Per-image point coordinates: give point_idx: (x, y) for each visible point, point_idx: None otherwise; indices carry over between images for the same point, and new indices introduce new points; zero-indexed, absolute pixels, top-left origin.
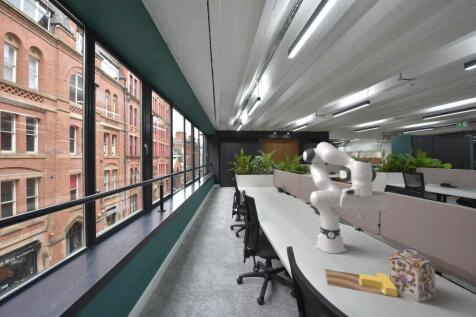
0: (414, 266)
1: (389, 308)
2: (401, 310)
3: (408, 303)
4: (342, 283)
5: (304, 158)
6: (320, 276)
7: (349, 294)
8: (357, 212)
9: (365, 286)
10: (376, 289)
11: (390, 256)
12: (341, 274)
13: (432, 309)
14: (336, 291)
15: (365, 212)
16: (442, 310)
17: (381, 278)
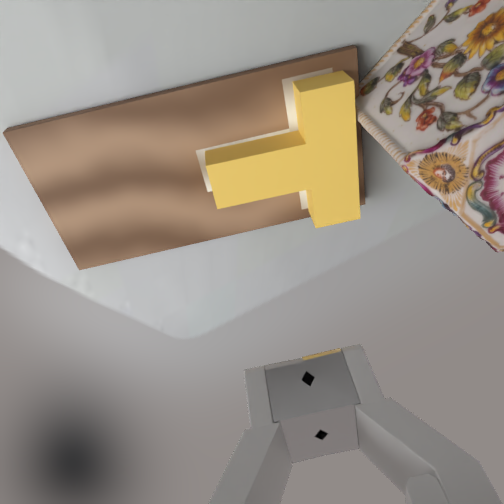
0: (502, 249)
1: (303, 266)
2: (340, 255)
3: (380, 201)
4: (134, 227)
5: None
6: (15, 200)
7: (172, 264)
8: (223, 483)
9: None
10: None
11: (423, 161)
12: (109, 143)
13: None
14: (122, 272)
15: (408, 450)
16: None
17: (314, 154)
